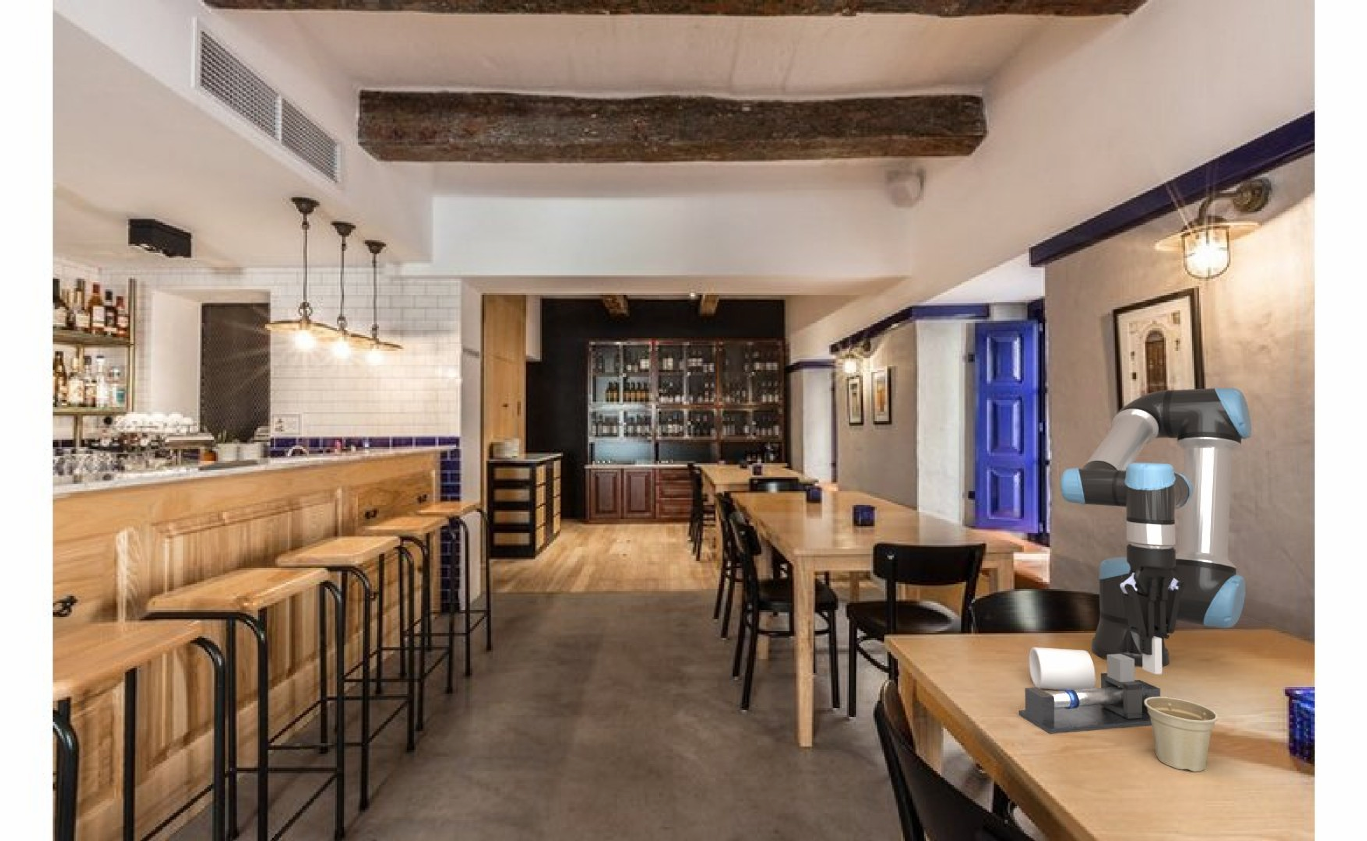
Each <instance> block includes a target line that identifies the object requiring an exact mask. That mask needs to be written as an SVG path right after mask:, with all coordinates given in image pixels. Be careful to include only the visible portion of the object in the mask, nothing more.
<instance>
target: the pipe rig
mask: <svg viewBox="0 0 1367 841" xmlns="http://www.w3.org/2000/svg"><path fill="white" fill-rule="evenodd" d="M1135 681H1136V682H1138V683H1140V684H1142V718H1131V719H1127V718H1125V717H1123V716H1121V715H1119V714H1117V713H1115V712H1113V711H1111V710H1109V709H1108V708H1106V707H1104V706H1102V705H1106V704H1119V703H1123V688H1122V687H1109V688H1101V687H1098V688H1097V687H1094V689H1082V690H1072V689H1062V690H1057V691H1056V690H1054V691H1045V690H1043V689H1042V688H1037V687H1035V686H1033V687H1024V702H1025V703H1024V705H1025V706H1024V708H1025V709H1019V710H1018V716H1020V717H1021V718H1023V719H1025V720H1026V721H1029V723H1032V724H1034V725H1035V726H1036V727H1038V728H1039V729H1041V730H1043V731H1045V733H1048V734H1049V735H1051V734H1063V733H1065V734H1066V733H1073V732H1074V733H1075V732H1076V733H1077V732H1086V731H1087V732H1088V731H1098V730H1099V731H1100V730H1112V729H1122V728H1134V727H1144V726H1145V727H1146V726H1152V724H1151V718H1150V715H1149V714H1148V710H1147V707H1146V706H1145V704H1144V701H1145V699H1147V698H1150V697H1161V688H1160V687H1157V686H1156V685H1152V684H1150V683H1148V682H1146V681H1143V680H1140V679H1135Z"/></svg>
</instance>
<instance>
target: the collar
mask: <svg viewBox="0 0 1367 841" xmlns="http://www.w3.org/2000/svg"><path fill="white" fill-rule="evenodd" d="M1135 673H1136V672H1135V665H1134V659H1133V658H1130V657H1128V656H1125V655H1123V654H1109V655H1107V659H1106V672H1102V673H1100V688H1109V687H1122V688H1123V703H1119V704H1106V705H1102V706H1104V707H1106V708H1108V709H1109V710H1111V711H1113V712H1115V713H1117V714H1119V715H1121V716H1123V717H1125V718H1127V719H1131V718H1142V684H1140V683H1138V682H1136V681H1135V680H1136V679H1135V676H1136V675H1135Z"/></svg>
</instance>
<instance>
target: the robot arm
mask: <svg viewBox="0 0 1367 841" xmlns="http://www.w3.org/2000/svg"><path fill="white" fill-rule="evenodd" d="M1251 437H1252V422H1251V417H1250V411H1249V407H1248V403H1247V400H1246V397H1245V395H1244V393H1243V392H1242V391H1241V390H1240V389H1237V388H1235V387H1234V388H1233V387H1222V388H1221V387H1214V388H1213V387H1211V388H1193V389H1189V388H1188V389H1172V390H1170V389H1168V390H1167V389H1165V390H1159V391H1158V390H1157V391H1153V392H1150V393H1147V394H1145V395H1142V396H1139V397H1138V398H1136V399H1134V400H1133V401H1131V402H1129V403H1127V404H1126V405H1124V406H1123V407H1121V409H1119V411H1118V412H1117V413H1116V414H1115V416H1114V417H1113V419H1112V422H1111V429H1110V430H1109V432H1108V433H1107V435H1105V437H1104V439H1102V441H1101V443H1100V444H1099V445H1098V447H1097V448H1096V449H1095V451H1094V452H1093V453H1092V455H1091V456H1090V458H1089V459H1088V460H1087V462H1086V463H1085V464H1084V465H1083V467H1082V468H1078V467H1075V468H1066V469H1065V470H1063V473H1062V474H1061V477H1060V483H1059V484H1060V485H1059V486H1060V488H1059V489H1060V493H1061V496H1062V498H1063V500H1065V501H1066V502H1068V503H1070V504H1071V503H1072V504H1080V505H1081V504H1082V505H1083V506H1084V505H1089V506H1090V505H1092V506H1106V507H1107V506H1109V507H1123V508H1124V507H1125V510H1126V512H1125V513H1126V514H1125V515H1126V517H1125V518H1126V541H1127V542H1128V544H1127V545H1126V556H1119V557H1109V558H1106V559H1104V560H1102V561H1101V562H1100V564H1099V575H1098V581H1099V582H1098V583H1099V584H1098V585H1099V621H1098V624H1097V627H1096V630H1095V634H1094V637H1093V638H1092V640H1091V652H1092V653H1093V654H1094V655H1095V656H1097V657H1100V658H1103V659H1106V660H1107V655H1109V654H1123V655H1125V656H1128V657H1130V658H1133V659H1134V666H1139V667H1142V670H1144V671H1146V672H1148V673H1151V674H1154V675H1162V674H1163V666H1167V665H1169V663H1170V653H1169V650H1168V648H1167V647H1166V644H1165V640H1166V639H1167V640H1169V639H1170V637H1171V636H1170V634H1173V633H1175V629H1176V622H1177V621H1179V622H1184V623H1189V624H1195V625H1201V626H1205V627H1207V628H1208V627H1213V628H1214V627H1216V628H1223V629H1229V628H1232V627H1234V626H1235V625H1236V624H1237V622H1238V621H1239V619H1240V617H1241V615H1242V612H1243V608H1244V604H1245V599H1246V583H1247V582H1246V578H1244V577H1243V576H1242V575H1241V574H1237V566H1236V565H1234V564H1233V563H1232V561H1230V559H1229V557H1228V556H1229V555H1228V554H1229V537H1230V536H1229V534H1230V532H1229V531H1230V514H1231V513H1230V512H1231V511H1230V509H1231V486H1232V484H1231V483H1232V463H1233V461H1232V460H1233V454H1234V453H1235V452H1236V451H1238V450H1240V449H1241V447H1242V440H1247V439H1249V438H1251ZM1166 438H1167V439H1168V438H1169V439H1177V440H1176V445H1177V446H1179V447H1180V449H1182V450H1183V451H1184V453H1183V454H1184V455H1183V473H1182V474H1181V473H1179V472H1176V471H1175V470H1174V469H1175V468H1174V466H1173V465H1172V464H1170V463H1166V462H1165V463H1160V462H1135V461H1136V459H1137V458H1138V456H1139V455H1140V453H1141V452H1142V450H1143V448H1144V447H1145V446H1146V445H1149V443H1152V442H1153V441H1154V440H1155V439H1166ZM1180 508H1181V513H1180V528H1179V529H1180V530H1179V548H1178V552H1176V549H1175V548H1174V547H1173V546H1175V545H1176V544H1177V543H1176V519H1175V518H1176V515H1175V513H1176V512H1175V511H1176V509H1180Z"/></svg>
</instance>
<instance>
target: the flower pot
mask: <svg viewBox="0 0 1367 841" xmlns="http://www.w3.org/2000/svg"><path fill="white" fill-rule="evenodd" d="M1144 704H1145V706H1146V707H1147V710H1148V714H1149V715H1150V718H1151V724H1152V725H1151V729H1152V735H1153V742H1154V750H1155V755H1156V757H1157V758H1158V760H1159V761H1160V762H1161V763H1163V764H1165V765H1167V766H1169V767H1172V768H1174V769H1177V770H1181V771H1183V770H1190V772H1193V773H1194V772H1195V773H1196V772H1202V771H1204V770H1205V769H1206V766H1207V765H1206V764H1207V759H1208V752H1209V746H1210V741H1211V734H1212V729H1214V728H1215V722H1217V721H1218V720H1219V715H1218V714H1217V712H1215V711H1214V710H1212V709H1211V708H1209V707H1206V705H1205V706H1204V705H1202V704H1199V703H1197V702H1193V701H1189V700H1187V699H1185V700H1184V699H1180V698H1175V697H1169V696H1160V697H1150V698H1147V699H1145V701H1144Z"/></svg>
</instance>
